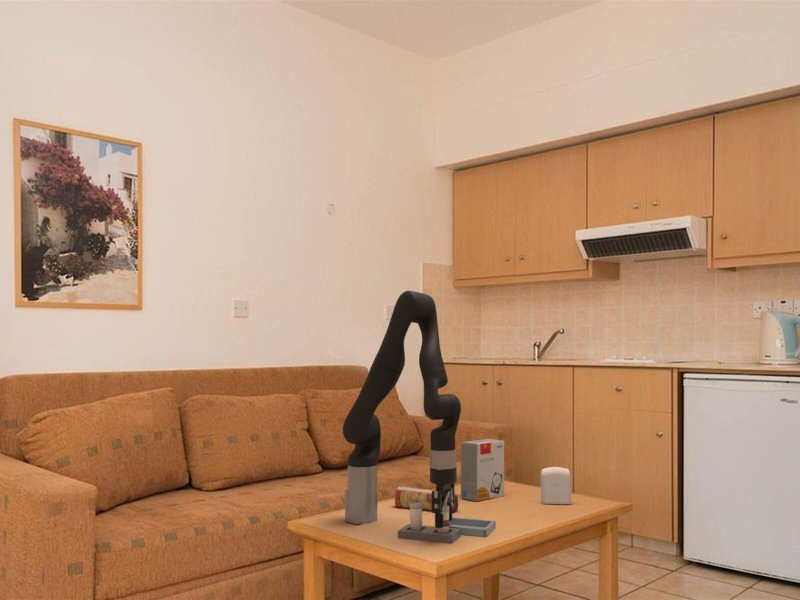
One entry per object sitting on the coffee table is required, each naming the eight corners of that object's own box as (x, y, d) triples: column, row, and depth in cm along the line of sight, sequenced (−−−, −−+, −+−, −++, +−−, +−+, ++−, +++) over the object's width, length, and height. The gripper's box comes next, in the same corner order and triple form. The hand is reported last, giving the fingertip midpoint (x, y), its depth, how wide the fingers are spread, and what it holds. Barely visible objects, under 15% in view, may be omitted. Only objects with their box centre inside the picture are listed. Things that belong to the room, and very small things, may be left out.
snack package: (459, 510, 244) (459, 490, 245) (451, 515, 238) (451, 493, 239) (401, 504, 254) (401, 484, 254) (393, 508, 248) (392, 488, 248)
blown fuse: (434, 539, 206) (434, 506, 207) (438, 536, 210) (438, 503, 210) (447, 540, 205) (447, 507, 206) (451, 537, 209) (450, 504, 209)
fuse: (408, 536, 209) (407, 504, 210) (412, 533, 213) (412, 501, 213) (420, 537, 208) (419, 505, 209) (424, 534, 211) (424, 502, 212)
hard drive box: (476, 502, 256) (475, 444, 257) (460, 498, 261) (459, 441, 263) (505, 496, 266) (504, 440, 267) (488, 492, 272) (488, 438, 273)
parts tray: (438, 534, 214) (438, 525, 214) (450, 525, 224) (450, 517, 224) (486, 538, 209) (486, 529, 209) (495, 529, 219) (495, 520, 219)
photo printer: (541, 504, 252) (540, 467, 253) (540, 502, 256) (539, 465, 257) (572, 505, 251) (571, 468, 252) (570, 502, 255) (570, 466, 256)
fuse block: (397, 539, 208) (397, 530, 208) (407, 532, 216) (407, 524, 216) (452, 545, 202) (452, 535, 202) (460, 537, 210) (460, 528, 210)
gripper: (438, 461, 217) (438, 517, 216) (422, 469, 203) (422, 529, 202) (462, 462, 214) (463, 519, 213) (448, 470, 201) (449, 531, 200)
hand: (443, 524), depth 208 cm, fingers open, 8 cm apart
